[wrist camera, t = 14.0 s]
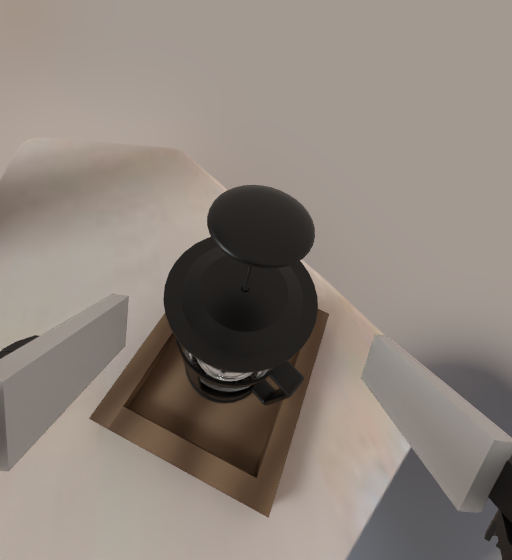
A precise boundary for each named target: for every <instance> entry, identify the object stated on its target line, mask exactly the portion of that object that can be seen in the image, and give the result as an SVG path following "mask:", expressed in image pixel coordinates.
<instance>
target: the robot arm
mask: <svg viewBox="0 0 512 560" xmlns="http://www.w3.org/2000/svg"><path fill="white" fill-rule="evenodd" d="M128 297H129V296H124V295H117V294H112V295H110V296H108V297H106V298H105V299H103V300H101V301H99V302H98V303H96V304H94V305H93V306H91V307H89V308H87V309H86V310H84V311H82V312H80V313H79V314H77V315H75V316H74V317H72V318H70V319H68V320H67V321H65V322H63V323H62V324H60V325H58V326H56V327H55V328H53V329H51V330H49V331H48V332H46V333H44V334H43V335H41V336H36V335H35V336H32V337H29V338H26V339H23V340H20V341H17V342H15V343H13V344H11V345H9V346H8V347H6V348H4V349H2V351H0V471H10V469H11V468H12V467H13V466H14V465H15V464H16V463H17V462H18V461H19V460H20V459H21V458H22V457H23V455H24V454H25V453H26V452H27V451H28V450H29V449H30V448H31V447H32V446H33V445H34V444H35V442H36V441H37V440H38V439H39V438H40V437H41V436H42V435H43V434H44V433H45V432H46V431H47V430H48V428H49V427H50V426H51V425H52V424H53V423H54V422H55V421H56V420H57V419H58V418H59V417H60V416H61V414H62V413H63V412H64V411H65V410H66V409H67V408H68V407H69V406H70V405H71V404H72V403H73V401H74V400H75V399H76V398H77V397H78V396H79V395H80V394H81V393H82V392H83V391H84V390H85V389H86V387H87V386H88V385H89V384H90V383H91V382H92V381H93V380H94V379H95V378H96V377H97V376H98V375H99V373H100V372H101V371H102V370H103V369H104V368H105V367H106V366H107V365H108V364H109V363H110V362H111V360H112V359H113V358H114V357H115V356H116V355H117V354H118V353H119V352H120V351H121V350H122V349H123V348H124V346H125V343H126V327H127V312H128ZM361 379H362V380H363V381H364V383H365V384H366V386H367V387H368V388H369V390H370V391H371V392H372V394H373V395H374V396H375V398H376V399H377V401H378V402H379V403H380V405H381V406H382V407H383V409H384V410H385V411H386V413H387V414H388V416H389V417H390V418H391V420H392V421H393V422H394V424H395V425H396V426H397V428H398V429H399V431H400V432H401V433H402V435H403V436H404V437H405V439H406V440H407V441H408V443H409V444H410V446H411V447H412V448H413V450H414V451H415V452H416V454H417V455H418V456H419V458H420V459H421V461H422V462H423V463H424V465H425V466H426V467H427V469H428V470H429V471H430V473H431V474H432V476H433V477H434V478H435V480H436V481H437V482H438V484H439V485H440V486H441V488H442V489H443V490H444V492H445V493H446V494H447V496H448V497H449V499H450V500H451V501H452V503H453V504H454V505H455V507H456V508H457V510H458V511H466V512H476V513H481V511H482V509H483V507H484V505H485V503H486V502H487V500H488V498H490V499H491V501H492V502H493V503H494V504H495V505H496V506H497V507H498V511H497V513H496V515H495V516H494V518H493V520H492V522H491V524H490V525H489V527H488V529H487V531H486V533H485V539H486V540H488V541H490V539H491V537H492V536H498V540H499V541H498V543H497V544H496V547H498V548H499V549H500V550H501V555H502V560H512V438H511V437H510V436H509V435H508V434H506V433H505V432H504V431H502V430H501V429H500V428H499V427H498V426H496V425H495V424H494V423H493V422H492V421H490V420H489V419H488V418H487V417H486V416H484V415H483V414H482V413H481V412H480V411H478V410H477V409H476V408H475V407H473V406H472V405H471V404H470V403H469V402H467V401H466V400H465V399H464V398H462V397H461V396H460V395H459V394H458V393H456V392H455V391H454V390H453V389H452V388H450V387H449V386H448V385H447V384H445V383H444V382H443V381H442V380H441V379H439V378H438V377H437V376H435V375H434V374H433V373H432V372H430V371H429V370H428V369H427V368H426V367H425V366H424V365H422V364H421V363H420V362H418V361H417V360H416V359H415V358H414V357H413V356H411V355H410V354H409V353H408V352H406V351H405V350H404V349H403V348H401V347H400V346H399V345H398V344H397V343H395V342H394V341H393V340H392V339H391V338H389V337H388V336H382V335H376V334H375V336H374V339H373V342H372V345H371V348H370V351H369V354H368V357H367V361H366V364H365V367H364V370H363V373H362V376H361Z"/></svg>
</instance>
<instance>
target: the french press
mask: <svg viewBox="0 0 512 560" xmlns="http://www.w3.org/2000/svg"><path fill="white" fill-rule="evenodd" d="M207 225H208V229H209V233H210V235H211V237H210V238H207V239H205V240H203V241H200V242H198V243H196V244H195V245H193V246H192V247H191V248H189V249H188V250H187V251H185V252H184V253H183V254H182V255H181V257H180V258H179V259H178V260H177V261H176V262H175V264H174V266H173V267H172V269H171V271H170V272H169V275H168V278H167V281H166V284H165V290H164V307H165V314H166V317H167V320H168V323H169V325H170V328H171V330H172V332H173V334H174V335H175V338H176V343H177V346H178V348H179V351H180V353H181V356H182V358H183V361H184V364H185V370H186V375H187V377H188V380H189V382H190V384H191V385H192V387H193V388H194V390H195V391H196V392H197V393H198V394H200V395H201V396H202V397H204V398H206V399H207V400H210V401H213V402H215V403H223V404H225V403H234V402H237V401H240V400H242V399H244V398H246V397H247V396H249V395H250V394H251V393H252V392H253V393H254V394H255V396H256V397H257V398H258V399H259V400H260V401H261V402H262V403H263V405H265V406H267V405H270V404H273V403H276V402H279V401H282V400H284V399H287V398H289V397H291V396H292V395H293V393H294V392H295V391H296V390H297V388H298V387H299V386H300V385H301V384H302V382H303V381H304V376H303V375H302V374H301V373H300V372H299V371H298V370H297V369H296V368H295V367H294V366H293V365H292V364H291V363H290V362H289V361H288V360H289V359H290V358H291V357H292V356H294V355H295V354H296V353H297V352H298V351H299V350H300V349H301V348H302V347H303V346H304V344H305V343H306V342H307V340H308V339H309V337H310V336H311V333H312V331H313V328H314V326H315V324H316V318H317V312H318V303H317V294H316V290H315V286H314V283H313V281H312V279H311V277H310V275H309V273H308V271H307V270H306V268H305V267H304V265H303V264H302V263H301V262H300V260H301V259H303V258H304V257H305V256H306V255H307V254H308V253H309V251H310V249H311V248H312V246H313V243H314V238H315V228H314V224H313V221H312V218H311V217H310V215H309V213H308V211H307V210H306V209H305V208H304V206H302V204H300V203H299V202H298V201H297V200H296V199H294V198H293V197H291V196H290V195H288V194H286V193H284V192H282V191H280V190H277V189H274V188H271V187H266V186H260V185H247V186H240V187H235V188H233V189H230V190H228V191H226V192H224V193H223V194H221V195H220V196H219V197H218V198H217V199H216V200H215V201H214V202H213V204H212V206H211V207H210V209H209V213H208V216H207ZM180 344H181V345H182V346H183V347H184V348H185V354H184V353H183V351H182V348H181V345H180ZM268 369H270V370H269V371H268V372H267V370H268ZM268 376H269V377H270V378H271V379H272V380H273V381H274V382H275V383H276V384H277V385H278V386H279V389H277V390H275V389H274V388H273V387H272V386H271V385H270V384H269V382H268V381H267V380H266V378H267V377H268Z"/></svg>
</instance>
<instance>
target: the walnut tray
mask: <svg viewBox="0 0 512 560" xmlns="http://www.w3.org/2000/svg"><path fill="white" fill-rule="evenodd" d="M328 316H329V314H328V313H326V312H324V311H321V310H319V309H318V312H317V318H316V324H315V326H314V328H313V331H312V333H311V336H310V337H309V339H308V340H307V342H306V343H305V344H304V346H303V347H302V348H301V349H300V350H299V351H298V352H297V353H296V354H295V355H294V356H292V357H291V358H290V359H289V360H288V361H289V362H290V363H291V364H292V365H293V366H294V367H295V368H296V369H297V370H298V371H299V372H300V373H301V374H302V375H303V376H304V381H303V382H302V384H301V385H300V386H299V387H298V388H297V390H296V391H295V392H294V393H293V395H292V396H291V397H289V398H287V399H284V400H282V401H279V402H276V403H273V404H270V405H267V406H265V405H263V403H262V402H261V401H260V400H259V399H258V398H257V397H256V396H255V394H254V393H253V392H252V393H251V394H250V395H249V396H247V397H246V398H244V399H242V400H240V401H237V402H234V403H225V404H223V403H215V402H213V401H210V400H207V399H206V398H204V397H202V396H201V395H200V394H198V393H197V392H196V391H195V390H194V388H193V387H192V385H191V384H190V382H189V380H188V377H187V375H186V370H185V364H184V361H183V358H182V356H181V353H180V351H179V348H178V346H177V343H176V338H175V335H174V334H173V332H172V330H171V328H170V325H169V323H168V320H167V317H166V314H164V315H163V317H162V318H161V319H160V321H159V322H158V324H157V325H156V326H155V328H154V329H153V331H152V332H151V333H150V335H149V336H148V337H147V339H146V340H145V342H144V343H143V344H142V346H141V347H140V349H139V350H138V351H137V353H136V354H135V356H134V357H133V358H132V360H131V361H130V363H129V364H128V365H127V367H126V368H125V369H124V371H123V372H122V374H121V375H120V376H119V378H118V379H117V381H116V382H115V383H114V385H113V386H112V388H111V389H110V390H109V392H108V393H107V394H106V396H105V397H104V399H103V400H102V401H101V403H100V404H99V406H98V407H97V408H96V410H95V411H94V413H93V414H92V415H91V417H90V418H89V419H91V420H93V421H94V422H96V423H98V424H100V425H102V426H103V427H105V428H107V429H109V430H111V431H113V432H114V433H116V434H118V435H120V436H122V437H123V438H125V439H127V440H129V441H131V442H132V443H134V444H136V445H138V446H140V447H142V448H143V449H145V450H147V451H149V452H151V453H152V454H154V455H156V456H158V457H160V458H161V459H163V460H165V461H167V462H169V463H171V464H172V465H174V466H176V467H178V468H180V469H181V470H183V471H185V472H187V473H189V474H190V475H192V476H194V477H196V478H198V479H200V480H201V481H203V482H205V483H207V484H209V485H210V486H212V487H214V488H216V489H218V490H219V491H221V492H223V493H225V494H227V495H229V496H230V497H232V498H234V499H236V500H238V501H239V502H241V503H243V504H245V505H247V506H248V507H250V508H252V509H254V510H256V511H258V512H259V513H261V514H263V515H265V516H267V517H268V518H269V514H270V511H271V508H272V504H273V501H274V498H275V494H276V491H277V487H278V484H279V481H280V477H281V474H282V471H283V467H284V464H285V460H286V457H287V454H288V450H289V447H290V444H291V440H292V437H293V434H294V430H295V427H296V423H297V420H298V417H299V413H300V410H301V407H302V403H303V400H304V396H305V393H306V390H307V386H308V383H309V380H310V376H311V373H312V370H313V366H314V363H315V359H316V356H317V353H318V349H319V346H320V343H321V339H322V336H323V332H324V329H325V326H326V322H327V319H328ZM180 345H181V344H180ZM181 348H182V351H183V353H184V354H185V348H184V347H183V346H182V345H181ZM269 370H270V369H268V370H267V372H268V371H269ZM266 380H267V381H268V382H269V384H270V385H271V386H272V387H273V388H274V389H275V390H277V389H279V386H278V385H277V384H276V383H275V382H274V381H273V380H272V379H271V378H270V377H269V376H268V377H267V378H266Z"/></svg>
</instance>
